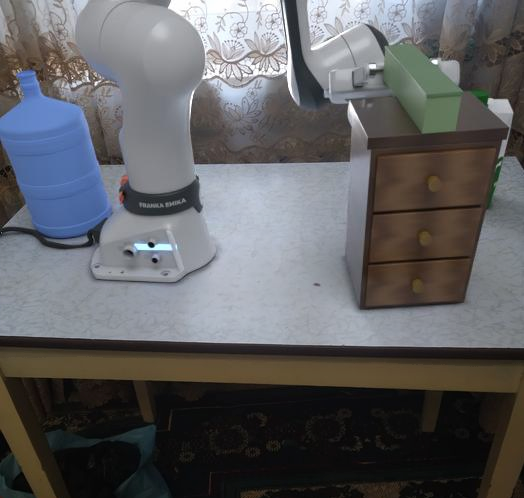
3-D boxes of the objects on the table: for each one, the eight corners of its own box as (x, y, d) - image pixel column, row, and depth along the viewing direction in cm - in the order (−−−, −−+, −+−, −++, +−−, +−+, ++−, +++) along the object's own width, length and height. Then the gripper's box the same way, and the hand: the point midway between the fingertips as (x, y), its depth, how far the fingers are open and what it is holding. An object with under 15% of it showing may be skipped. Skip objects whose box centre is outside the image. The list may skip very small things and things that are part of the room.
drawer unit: (357, 316, 79) (370, 143, 62) (342, 257, 92) (349, 99, 74) (471, 309, 79) (515, 132, 61) (440, 251, 91) (469, 90, 74)
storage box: (421, 134, 63) (426, 94, 60) (382, 78, 81) (384, 45, 78) (456, 131, 63) (463, 91, 60) (409, 76, 81) (412, 43, 78)
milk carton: (443, 189, 109) (461, 85, 95) (489, 191, 107) (514, 85, 94) (445, 209, 102) (465, 100, 89) (494, 211, 100) (522, 100, 87)
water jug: (119, 228, 105) (77, 75, 86) (38, 247, 101) (-23, 92, 83) (106, 197, 116) (66, 56, 97) (33, 214, 112) (-23, 70, 94)
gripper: (321, 77, 89) (331, 47, 76) (442, 68, 89) (473, 37, 75) (323, 117, 91) (332, 94, 77) (442, 108, 90) (472, 84, 77)
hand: (403, 66), depth 76 cm, fingers open, 8 cm apart
